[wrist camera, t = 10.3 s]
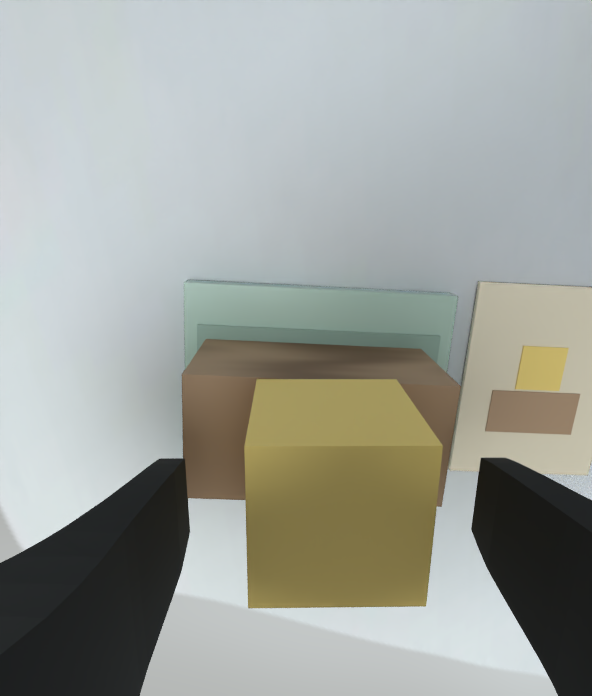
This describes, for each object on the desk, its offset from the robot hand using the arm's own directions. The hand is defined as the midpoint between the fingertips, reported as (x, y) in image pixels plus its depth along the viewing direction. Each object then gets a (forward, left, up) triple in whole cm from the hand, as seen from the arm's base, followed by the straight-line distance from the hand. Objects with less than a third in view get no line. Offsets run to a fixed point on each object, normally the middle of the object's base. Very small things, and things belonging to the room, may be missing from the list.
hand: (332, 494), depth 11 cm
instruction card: (-9, 0, -8) cm, 12 cm away
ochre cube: (0, 0, -3) cm, 3 cm away
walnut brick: (0, 0, -7) cm, 7 cm away
